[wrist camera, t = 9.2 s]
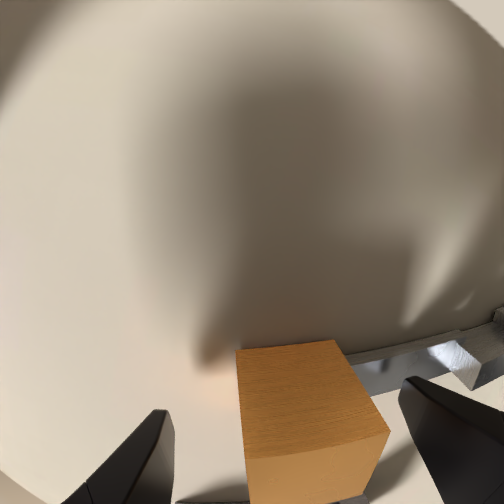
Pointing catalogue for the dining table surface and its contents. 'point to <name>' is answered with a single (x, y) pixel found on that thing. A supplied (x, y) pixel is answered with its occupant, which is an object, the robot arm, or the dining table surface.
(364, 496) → the grey u-shaped bracket
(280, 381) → the orange headed key
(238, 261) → the dining table surface
